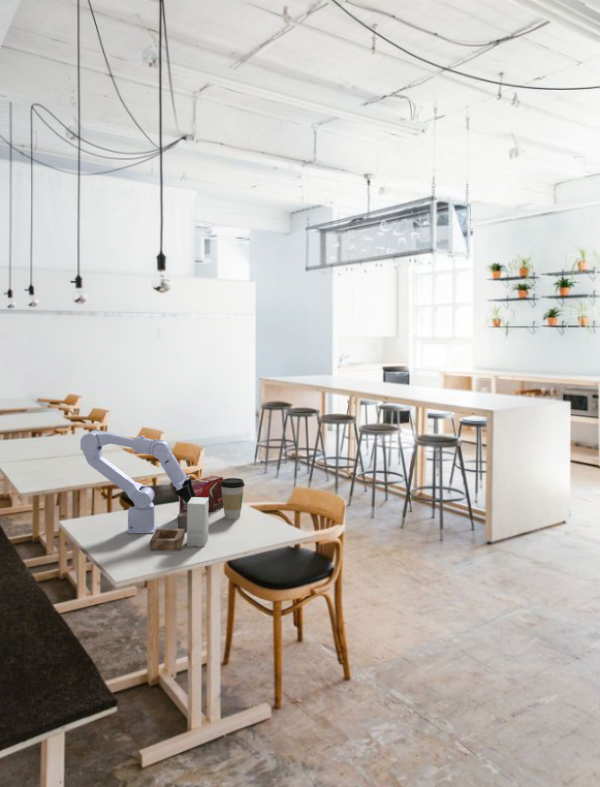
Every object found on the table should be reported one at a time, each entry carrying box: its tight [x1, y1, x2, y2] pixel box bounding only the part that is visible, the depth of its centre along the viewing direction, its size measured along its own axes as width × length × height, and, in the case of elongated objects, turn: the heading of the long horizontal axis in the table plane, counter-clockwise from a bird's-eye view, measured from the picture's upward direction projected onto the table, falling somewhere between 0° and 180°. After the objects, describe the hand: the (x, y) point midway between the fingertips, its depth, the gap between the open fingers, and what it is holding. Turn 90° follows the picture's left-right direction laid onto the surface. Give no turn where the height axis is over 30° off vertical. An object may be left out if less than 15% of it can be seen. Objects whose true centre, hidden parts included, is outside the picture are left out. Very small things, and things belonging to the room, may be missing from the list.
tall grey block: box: [176, 512, 187, 533], centre depth 239 cm, size 4×4×6 cm
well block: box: [149, 528, 186, 551], centre depth 223 cm, size 10×13×4 cm
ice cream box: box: [178, 474, 224, 514], centre depth 263 cm, size 20×6×13 cm, turn 148°
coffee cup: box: [220, 477, 246, 520], centre depth 256 cm, size 10×10×15 cm
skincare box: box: [186, 497, 209, 548], centre depth 224 cm, size 8×7×16 cm
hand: (192, 501), depth 238 cm, fingers open, 7 cm apart
